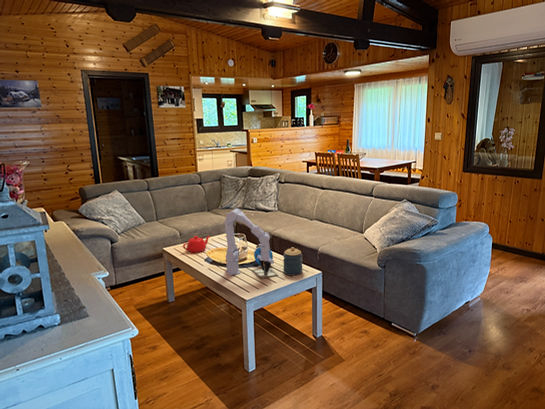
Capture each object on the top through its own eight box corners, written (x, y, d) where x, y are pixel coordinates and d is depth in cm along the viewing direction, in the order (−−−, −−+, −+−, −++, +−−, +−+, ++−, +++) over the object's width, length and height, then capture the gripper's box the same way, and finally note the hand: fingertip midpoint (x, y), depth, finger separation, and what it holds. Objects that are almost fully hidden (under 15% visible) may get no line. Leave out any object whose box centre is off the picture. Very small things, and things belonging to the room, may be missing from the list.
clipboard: (251, 271, 251) (251, 269, 251) (267, 267, 256) (267, 266, 256) (261, 279, 237) (261, 277, 237) (277, 275, 242) (277, 273, 242)
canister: (290, 277, 239) (290, 251, 236) (279, 271, 250) (279, 246, 246) (306, 272, 246) (306, 247, 243) (294, 266, 257) (294, 242, 253)
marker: (263, 274, 243) (262, 261, 241) (266, 273, 245) (265, 260, 243) (265, 275, 241) (265, 262, 239) (268, 274, 243) (268, 261, 241)
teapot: (188, 256, 283) (187, 241, 280) (179, 251, 294) (177, 237, 292) (215, 248, 299) (215, 234, 297) (205, 244, 311) (204, 231, 308)
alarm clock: (273, 265, 261) (272, 245, 258) (268, 267, 256) (267, 247, 253) (259, 261, 269) (258, 242, 266) (253, 264, 264) (253, 244, 261)
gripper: (253, 250, 242) (254, 269, 245) (267, 255, 232) (268, 275, 234) (261, 248, 247) (261, 266, 249) (276, 253, 236) (276, 272, 239)
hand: (265, 271), depth 242 cm, fingers closed on marker, 3 cm apart
